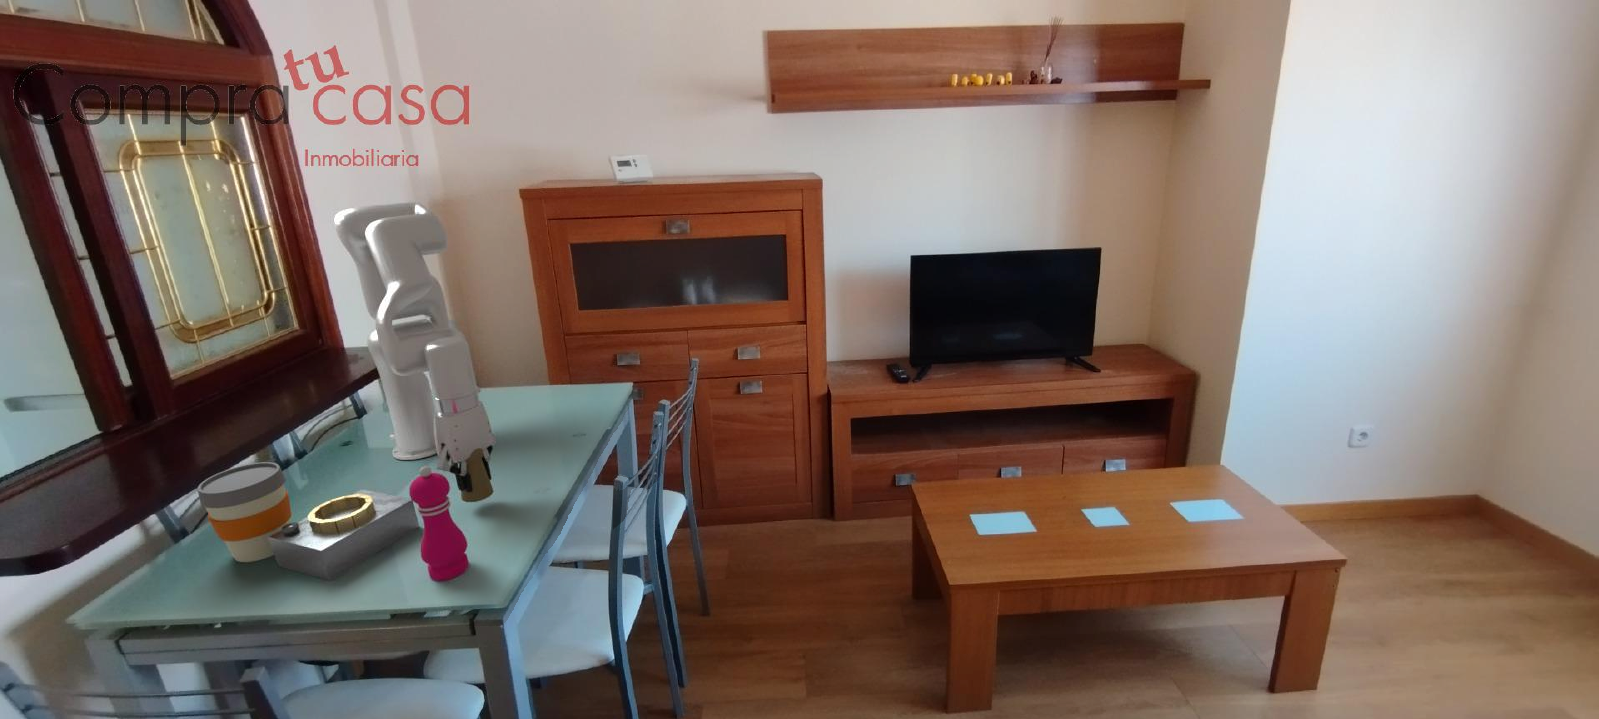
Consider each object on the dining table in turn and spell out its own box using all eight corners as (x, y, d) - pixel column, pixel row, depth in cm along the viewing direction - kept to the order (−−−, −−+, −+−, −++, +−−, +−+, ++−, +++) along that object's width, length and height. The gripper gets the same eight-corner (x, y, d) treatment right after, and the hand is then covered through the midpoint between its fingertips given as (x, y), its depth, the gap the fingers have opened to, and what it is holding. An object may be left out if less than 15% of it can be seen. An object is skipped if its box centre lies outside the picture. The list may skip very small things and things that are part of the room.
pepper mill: (436, 560, 124) (411, 459, 118) (478, 556, 125) (455, 455, 119) (419, 584, 117) (391, 479, 111) (463, 580, 118) (437, 475, 112)
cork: (500, 489, 142) (490, 440, 139) (478, 504, 137) (467, 454, 133) (476, 485, 144) (466, 437, 141) (454, 499, 139) (443, 450, 135)
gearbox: (278, 565, 125) (265, 527, 123) (369, 515, 141) (359, 480, 138) (330, 580, 120) (317, 540, 117) (419, 526, 136) (410, 490, 133)
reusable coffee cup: (204, 569, 125) (176, 496, 121) (255, 531, 137) (231, 463, 133) (273, 566, 125) (248, 492, 120) (318, 528, 137) (297, 459, 132)
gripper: (476, 383, 142) (492, 463, 149) (406, 415, 128) (426, 502, 134) (505, 388, 140) (520, 468, 146) (435, 421, 125) (455, 509, 131)
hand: (475, 484), depth 140 cm, fingers closed on cork, 4 cm apart
